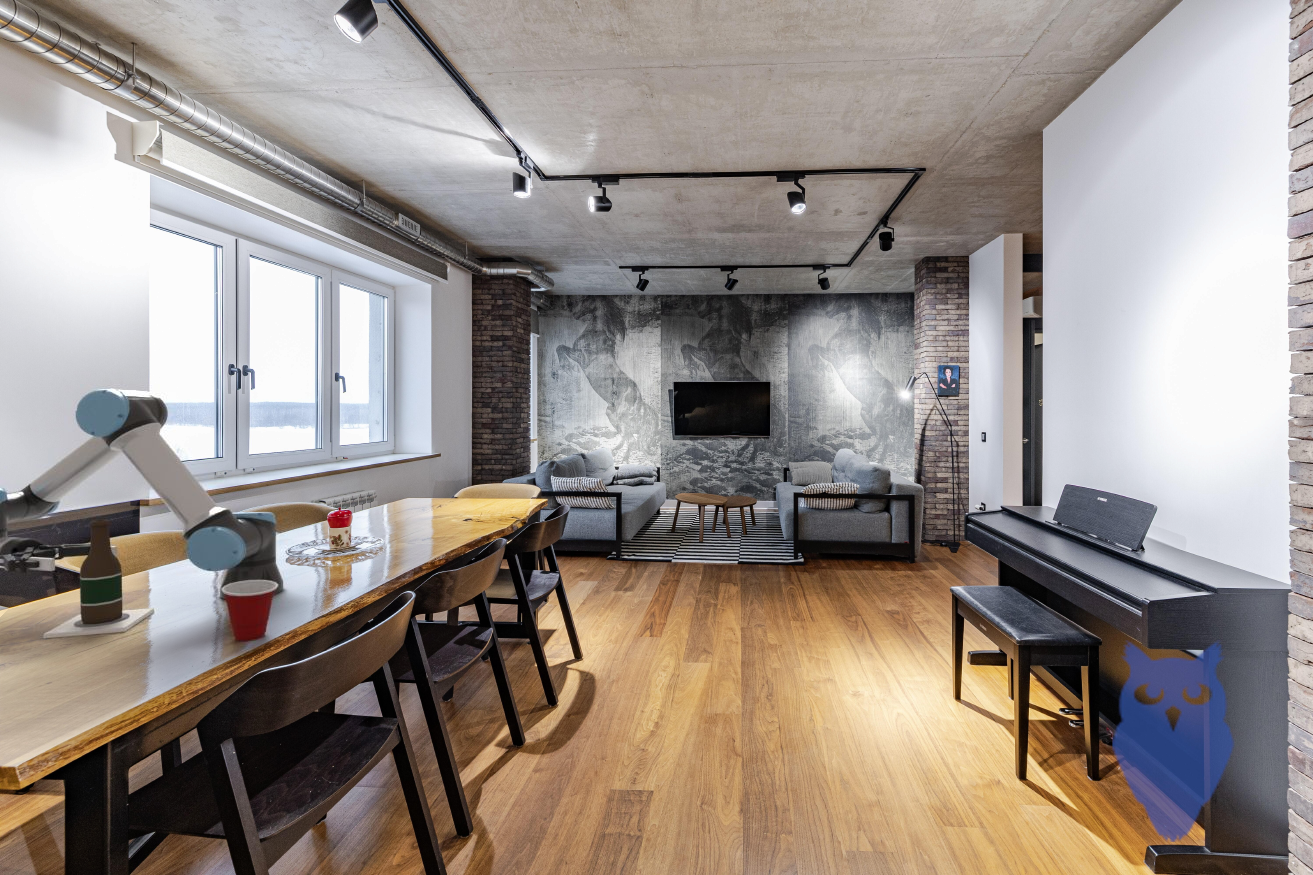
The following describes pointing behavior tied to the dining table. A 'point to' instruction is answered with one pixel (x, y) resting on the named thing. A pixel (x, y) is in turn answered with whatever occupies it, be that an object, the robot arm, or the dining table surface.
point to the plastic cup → (249, 607)
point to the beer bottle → (100, 579)
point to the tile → (119, 625)
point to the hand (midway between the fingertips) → (85, 558)
